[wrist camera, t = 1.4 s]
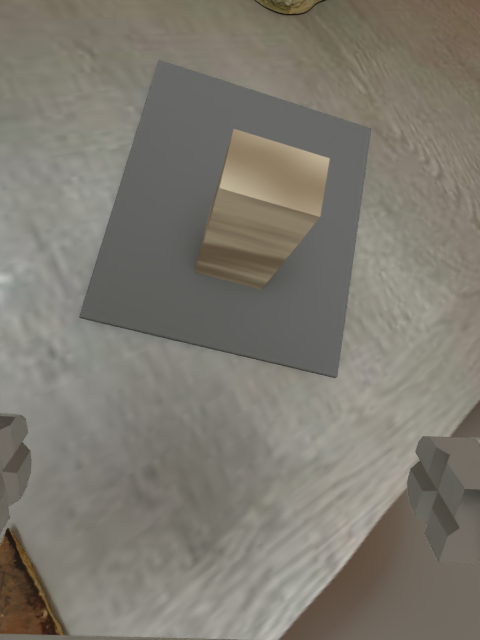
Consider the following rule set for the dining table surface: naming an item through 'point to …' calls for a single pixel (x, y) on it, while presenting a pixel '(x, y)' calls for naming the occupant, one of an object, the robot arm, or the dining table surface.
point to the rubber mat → (191, 218)
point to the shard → (22, 594)
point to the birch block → (260, 209)
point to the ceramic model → (289, 5)
